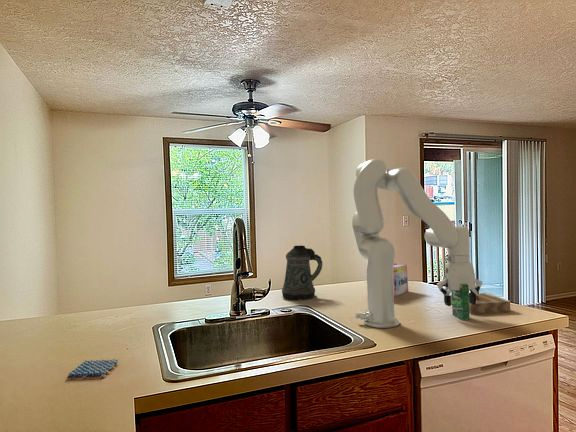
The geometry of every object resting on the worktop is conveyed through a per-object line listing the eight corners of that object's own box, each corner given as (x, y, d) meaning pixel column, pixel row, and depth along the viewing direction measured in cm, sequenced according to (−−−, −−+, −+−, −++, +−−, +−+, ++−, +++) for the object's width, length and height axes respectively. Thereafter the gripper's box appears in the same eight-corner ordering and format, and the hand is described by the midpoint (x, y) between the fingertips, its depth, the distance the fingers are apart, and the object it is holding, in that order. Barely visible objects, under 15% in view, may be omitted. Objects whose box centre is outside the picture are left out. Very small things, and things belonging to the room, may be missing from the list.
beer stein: (276, 295, 197) (274, 246, 197) (310, 291, 205) (309, 243, 205) (290, 302, 182) (288, 248, 182) (326, 296, 190) (325, 245, 190)
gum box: (395, 289, 202) (395, 263, 202) (410, 291, 197) (409, 264, 196) (370, 297, 185) (369, 269, 185) (384, 300, 180) (383, 270, 180)
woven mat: (120, 364, 114) (120, 357, 114) (104, 380, 103) (104, 373, 103) (84, 366, 114) (84, 359, 114) (64, 382, 103) (64, 374, 103)
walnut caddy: (471, 314, 151) (470, 303, 151) (450, 304, 167) (450, 294, 167) (510, 311, 153) (510, 300, 153) (485, 302, 169) (485, 292, 169)
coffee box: (451, 314, 152) (450, 281, 151) (458, 314, 152) (457, 280, 152) (462, 320, 144) (461, 285, 143) (470, 320, 144) (469, 284, 144)
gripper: (441, 261, 143) (443, 308, 143) (486, 259, 144) (487, 305, 145) (432, 259, 150) (433, 303, 151) (475, 257, 152) (476, 301, 152)
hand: (460, 304), depth 148 cm, fingers open, 9 cm apart
